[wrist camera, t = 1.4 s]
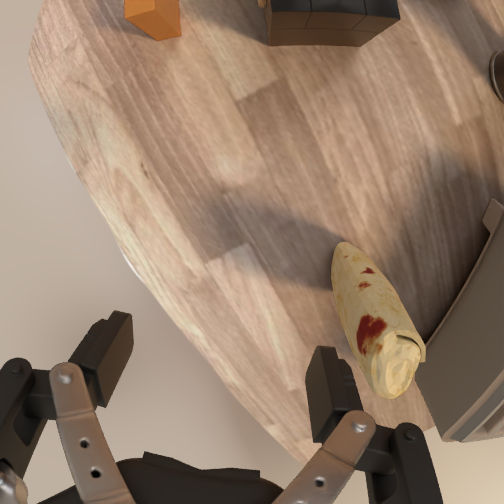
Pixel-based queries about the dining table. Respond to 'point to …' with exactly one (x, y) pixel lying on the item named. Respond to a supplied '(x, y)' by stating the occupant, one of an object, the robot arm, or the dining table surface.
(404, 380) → the food model
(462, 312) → the toaster
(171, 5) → the orange slab
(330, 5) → the slot toaster
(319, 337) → the dining table surface
